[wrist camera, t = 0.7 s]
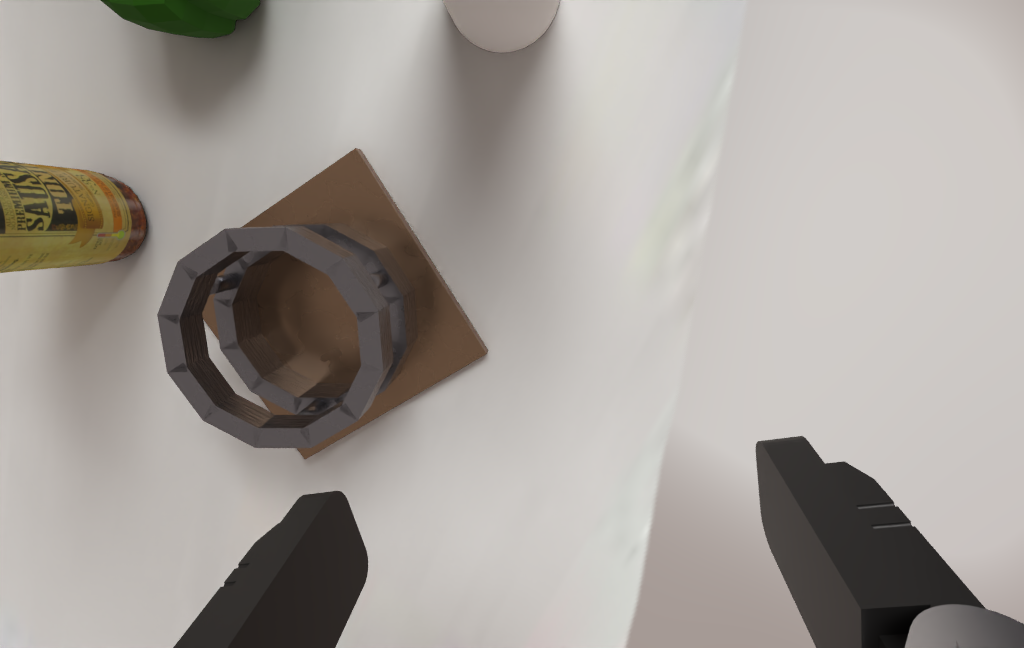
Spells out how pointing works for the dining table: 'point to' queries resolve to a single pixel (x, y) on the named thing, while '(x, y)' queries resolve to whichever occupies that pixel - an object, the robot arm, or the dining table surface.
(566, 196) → the dining table surface
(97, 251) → the sauce bottle
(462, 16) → the cylindrical container
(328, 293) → the collar stand
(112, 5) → the bell pepper
